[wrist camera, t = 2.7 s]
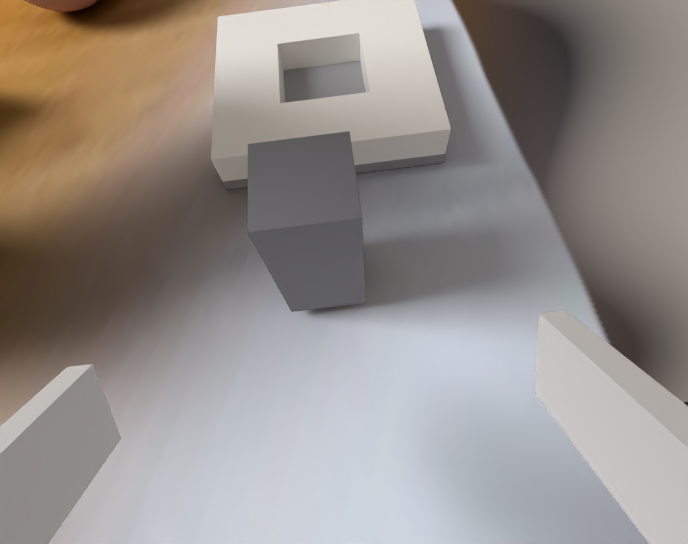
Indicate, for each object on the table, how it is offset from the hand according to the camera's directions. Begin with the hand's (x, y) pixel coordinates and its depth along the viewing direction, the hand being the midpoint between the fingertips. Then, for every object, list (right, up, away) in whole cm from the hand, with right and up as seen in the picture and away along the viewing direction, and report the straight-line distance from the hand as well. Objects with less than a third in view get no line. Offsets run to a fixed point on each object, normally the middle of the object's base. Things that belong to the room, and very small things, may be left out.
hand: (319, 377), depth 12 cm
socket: (-1, +18, +23) cm, 29 cm away
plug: (0, +3, +16) cm, 16 cm away
